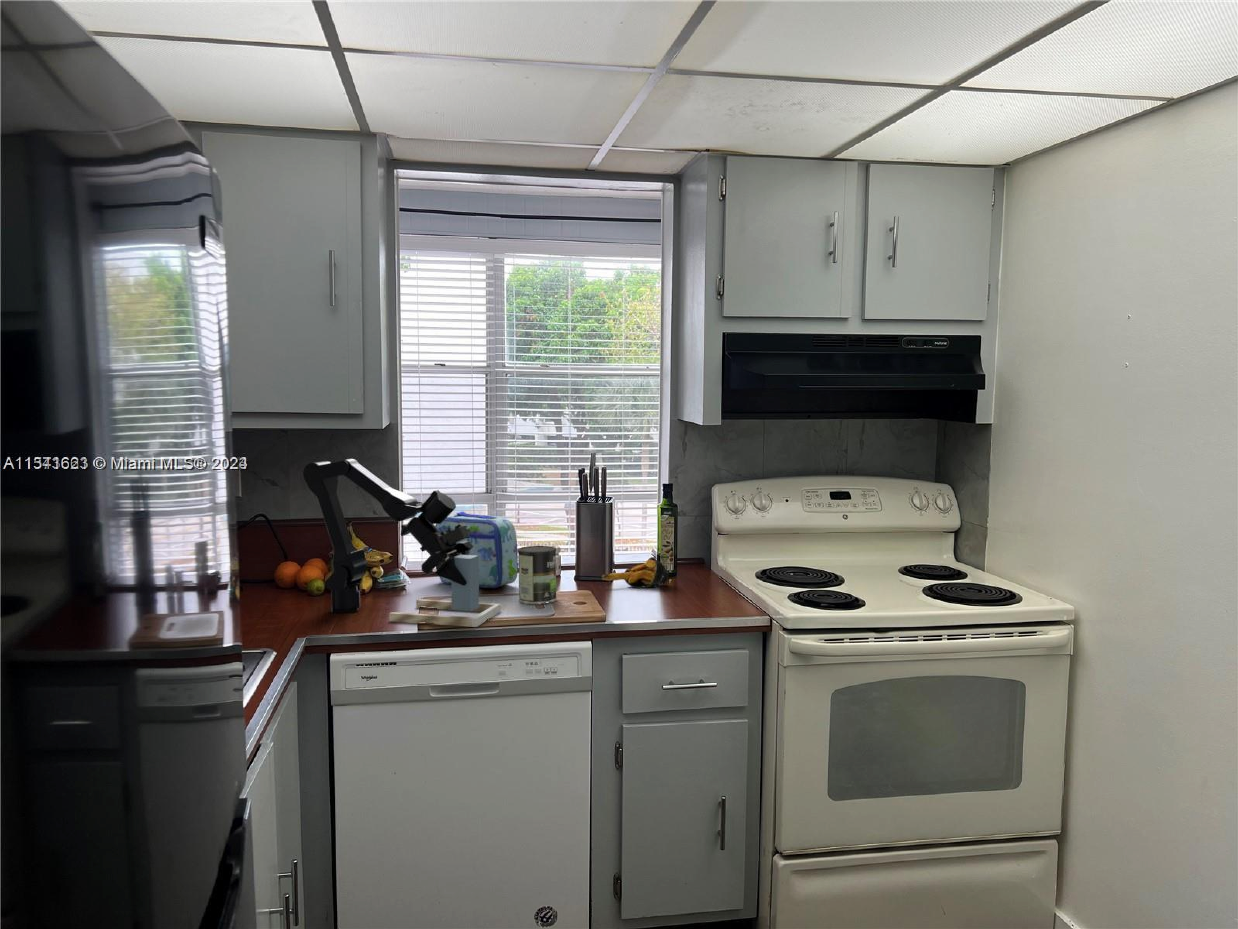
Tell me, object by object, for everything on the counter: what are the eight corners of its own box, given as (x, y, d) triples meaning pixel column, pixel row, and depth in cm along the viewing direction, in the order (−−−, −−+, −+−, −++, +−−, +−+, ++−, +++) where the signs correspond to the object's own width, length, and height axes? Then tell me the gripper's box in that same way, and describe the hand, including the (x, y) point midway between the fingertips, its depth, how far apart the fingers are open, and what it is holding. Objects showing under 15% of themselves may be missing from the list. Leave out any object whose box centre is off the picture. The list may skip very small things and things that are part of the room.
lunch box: (430, 583, 258) (428, 512, 257) (456, 576, 267) (454, 508, 265) (496, 593, 244) (495, 519, 242) (521, 586, 253) (520, 514, 251)
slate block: (451, 609, 215) (451, 557, 215) (460, 605, 220) (460, 554, 219) (470, 611, 214) (470, 558, 213) (478, 607, 219) (478, 555, 218)
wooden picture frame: (389, 621, 214) (389, 613, 214) (418, 606, 229) (418, 599, 229) (476, 627, 209) (476, 618, 208) (500, 611, 223) (500, 603, 223)
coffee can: (561, 596, 240) (560, 545, 238) (550, 605, 230) (550, 552, 228) (525, 595, 242) (524, 544, 241) (513, 603, 232) (512, 551, 230)
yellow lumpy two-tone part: (677, 572, 248) (621, 557, 241) (660, 603, 251) (605, 589, 244) (668, 555, 256) (613, 540, 249) (652, 585, 259) (598, 571, 252)
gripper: (432, 520, 207) (475, 567, 206) (465, 509, 225) (505, 553, 223) (402, 551, 210) (445, 598, 208) (438, 538, 228) (477, 582, 226)
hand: (470, 582), depth 216 cm, fingers closed on slate block, 5 cm apart
